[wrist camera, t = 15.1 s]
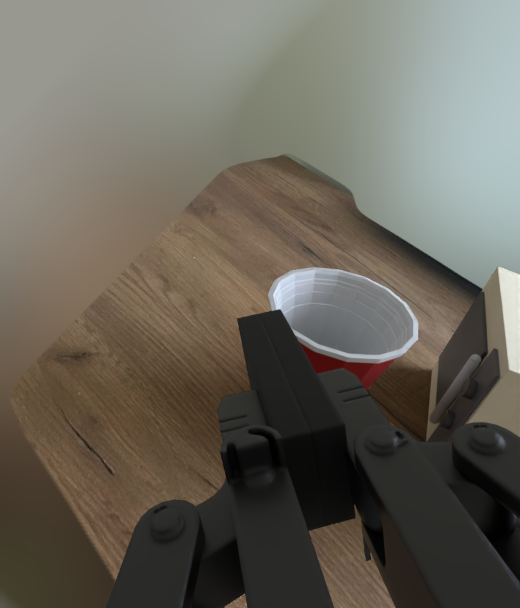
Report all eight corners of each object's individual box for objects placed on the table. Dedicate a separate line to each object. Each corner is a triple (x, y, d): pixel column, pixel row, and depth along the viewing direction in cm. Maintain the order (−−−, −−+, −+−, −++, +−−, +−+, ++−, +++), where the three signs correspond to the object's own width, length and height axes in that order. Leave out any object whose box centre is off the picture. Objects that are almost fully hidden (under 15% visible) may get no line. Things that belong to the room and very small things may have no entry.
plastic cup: (301, 350, 47) (340, 247, 40) (385, 429, 42) (448, 327, 35) (211, 392, 41) (238, 278, 34) (297, 493, 35) (352, 383, 28)
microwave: (410, 475, 39) (493, 363, 31) (422, 365, 50) (486, 262, 42) (548, 536, 37) (672, 434, 29) (529, 409, 48) (616, 309, 40)
